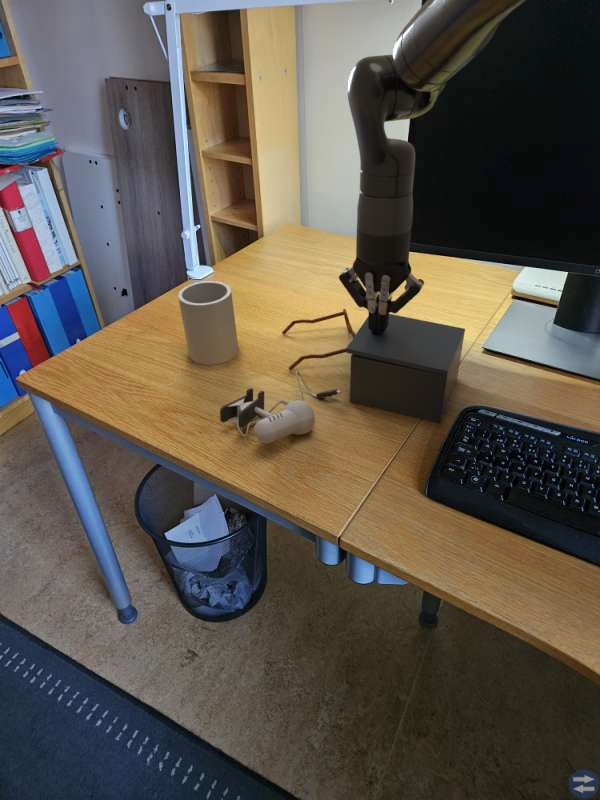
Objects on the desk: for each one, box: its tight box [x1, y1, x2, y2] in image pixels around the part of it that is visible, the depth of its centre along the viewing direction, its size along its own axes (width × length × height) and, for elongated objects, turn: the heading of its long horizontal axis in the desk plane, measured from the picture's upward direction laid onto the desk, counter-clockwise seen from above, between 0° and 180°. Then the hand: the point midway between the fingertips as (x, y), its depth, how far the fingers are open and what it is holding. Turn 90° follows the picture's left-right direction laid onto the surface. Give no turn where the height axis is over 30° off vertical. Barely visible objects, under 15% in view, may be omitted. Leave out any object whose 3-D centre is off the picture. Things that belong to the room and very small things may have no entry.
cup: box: [177, 280, 239, 366], centre depth 100 cm, size 9×9×12 cm
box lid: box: [345, 313, 466, 375], centre depth 86 cm, size 15×13×1 cm
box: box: [349, 334, 465, 424], centre depth 89 cm, size 15×13×9 cm
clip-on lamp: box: [219, 370, 343, 444], centre depth 85 cm, size 12×6×18 cm
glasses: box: [281, 308, 356, 371], centre depth 102 cm, size 13×13×5 cm
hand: (378, 331), depth 88 cm, fingers closed
